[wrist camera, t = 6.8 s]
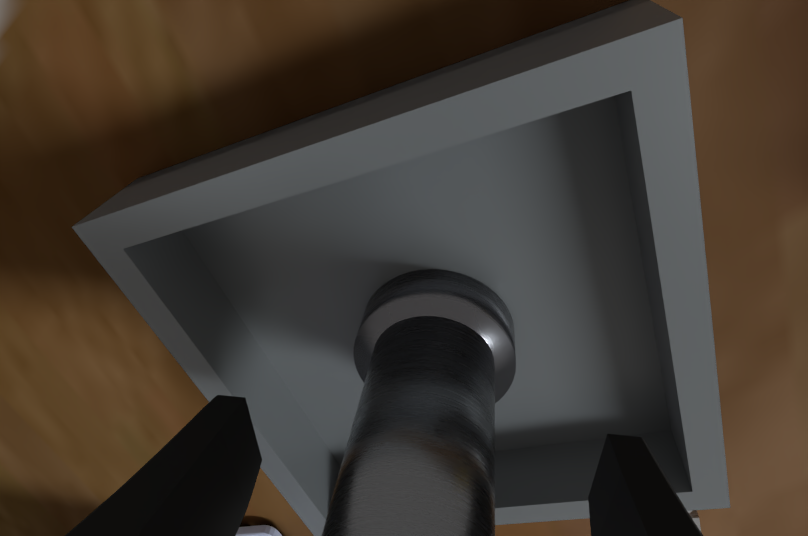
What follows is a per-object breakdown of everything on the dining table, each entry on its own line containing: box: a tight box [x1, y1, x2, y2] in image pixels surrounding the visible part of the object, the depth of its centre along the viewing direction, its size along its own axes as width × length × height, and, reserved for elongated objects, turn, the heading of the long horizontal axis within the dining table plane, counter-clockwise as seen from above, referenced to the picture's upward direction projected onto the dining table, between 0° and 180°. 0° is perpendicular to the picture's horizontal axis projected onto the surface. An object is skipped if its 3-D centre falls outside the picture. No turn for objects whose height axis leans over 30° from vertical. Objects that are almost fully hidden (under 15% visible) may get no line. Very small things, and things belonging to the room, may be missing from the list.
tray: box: [72, 0, 730, 536], centre depth 13 cm, size 12×12×2 cm
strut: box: [322, 269, 516, 536], centre depth 11 cm, size 4×4×7 cm
